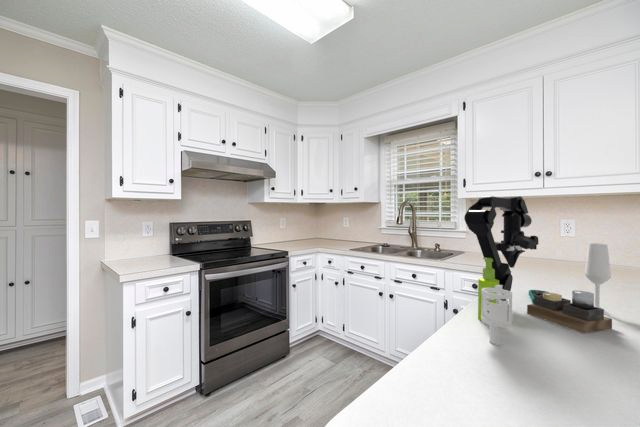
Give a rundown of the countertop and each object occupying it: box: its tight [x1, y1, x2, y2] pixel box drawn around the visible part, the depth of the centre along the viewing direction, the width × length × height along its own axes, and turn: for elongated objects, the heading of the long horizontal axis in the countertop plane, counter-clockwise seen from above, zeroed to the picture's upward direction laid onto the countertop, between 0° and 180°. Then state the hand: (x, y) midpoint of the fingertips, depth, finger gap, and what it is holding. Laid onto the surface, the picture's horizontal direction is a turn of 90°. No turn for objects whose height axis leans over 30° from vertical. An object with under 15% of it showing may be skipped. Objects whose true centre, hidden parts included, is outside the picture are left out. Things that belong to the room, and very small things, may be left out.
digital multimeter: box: [528, 289, 550, 304], centre depth 115 cm, size 7×15×3 cm, turn 149°
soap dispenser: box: [477, 256, 499, 322], centre depth 95 cm, size 6×7×20 cm
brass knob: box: [543, 291, 563, 301], centre depth 98 cm, size 5×5×4 cm
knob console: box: [526, 295, 613, 334], centre depth 94 cm, size 12×17×6 cm
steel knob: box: [571, 289, 595, 308], centre depth 89 cm, size 5×5×4 cm
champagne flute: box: [584, 242, 612, 316], centre depth 102 cm, size 7×7×24 cm
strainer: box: [480, 285, 513, 346], centre depth 78 cm, size 7×7×15 cm
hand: (511, 267), depth 115 cm, fingers closed
